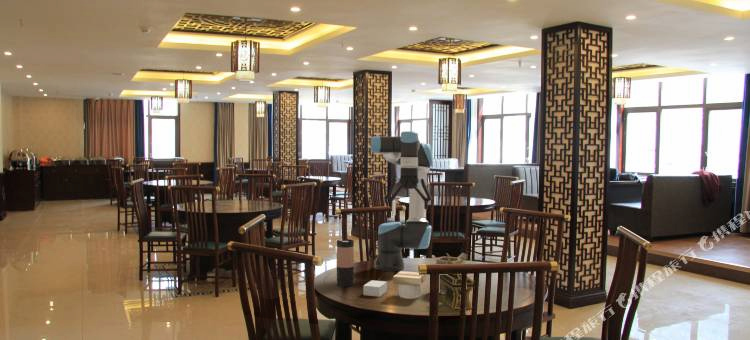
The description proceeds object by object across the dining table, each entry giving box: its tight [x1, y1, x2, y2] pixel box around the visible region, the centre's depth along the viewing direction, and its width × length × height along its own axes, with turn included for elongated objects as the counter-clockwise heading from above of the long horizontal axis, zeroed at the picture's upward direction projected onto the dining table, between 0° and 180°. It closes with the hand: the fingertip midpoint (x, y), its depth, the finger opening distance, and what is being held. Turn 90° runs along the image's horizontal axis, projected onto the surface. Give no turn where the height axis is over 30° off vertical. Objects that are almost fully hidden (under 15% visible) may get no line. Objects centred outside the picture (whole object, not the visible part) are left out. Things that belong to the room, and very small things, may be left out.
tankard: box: [435, 252, 468, 294], centre depth 244 cm, size 20×13×15 cm, turn 136°
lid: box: [392, 270, 427, 287], centre depth 233 cm, size 11×11×3 cm
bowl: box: [398, 284, 421, 300], centre depth 233 cm, size 9×9×6 cm
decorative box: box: [440, 252, 474, 310], centre depth 222 cm, size 20×10×20 cm, turn 13°
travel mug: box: [336, 238, 355, 288], centre depth 251 cm, size 8×8×20 cm
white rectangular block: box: [363, 279, 388, 298], centre depth 238 cm, size 10×7×4 cm
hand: (408, 216), depth 244 cm, fingers open, 13 cm apart
